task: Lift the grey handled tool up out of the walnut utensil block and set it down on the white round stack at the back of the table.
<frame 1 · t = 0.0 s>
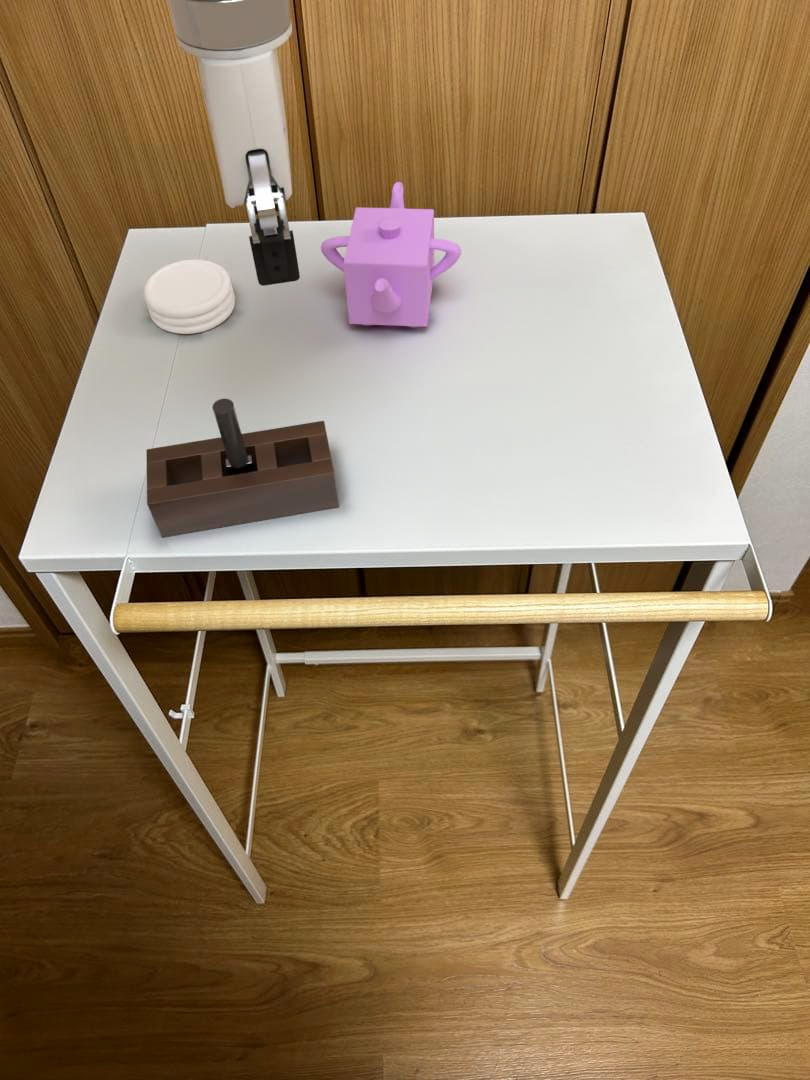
hand: (273, 244, 67), 22 cm above the table, tool pointing down, fingers open, 9 cm apart
grey handled tool: (236, 453, 76), in a hole of the utensil block
white round stack: (193, 309, 98), on the table
utensil block: (248, 495, 80), on the table
teapot: (393, 307, 97), on the table
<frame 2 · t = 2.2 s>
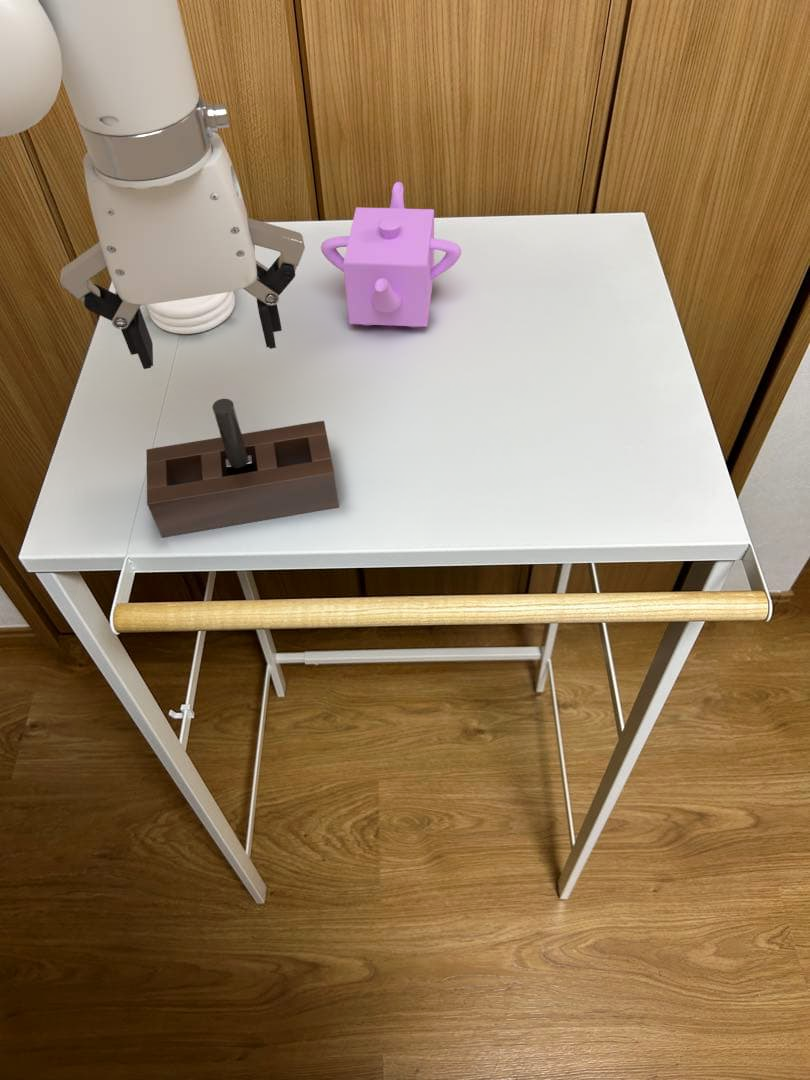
hand: (209, 347, 66), 18 cm above the table, tool pointing down, fingers open, 9 cm apart
nothing on the table moved.
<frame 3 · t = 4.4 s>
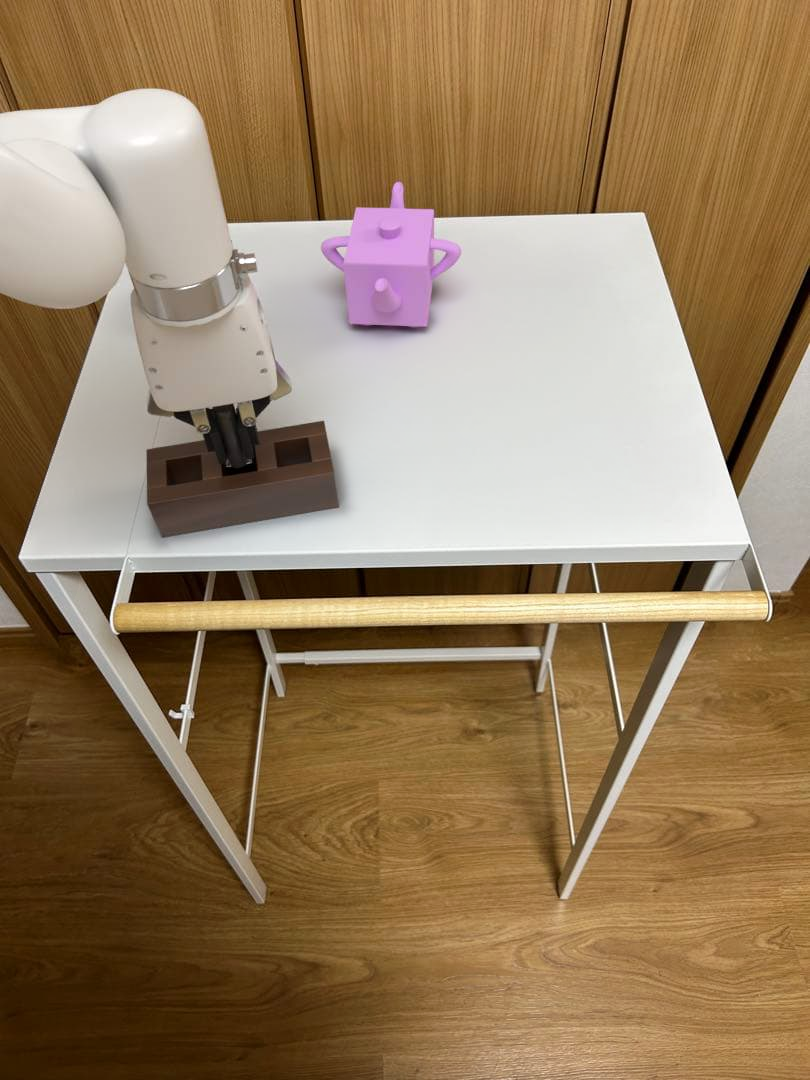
hand: (235, 449, 75), 7 cm above the table, tool pointing down, fingers closed on grey handled tool, 1 cm apart
grey handled tool: (236, 453, 76), in a hole of the utensil block, touching gripper
everything else where it was.
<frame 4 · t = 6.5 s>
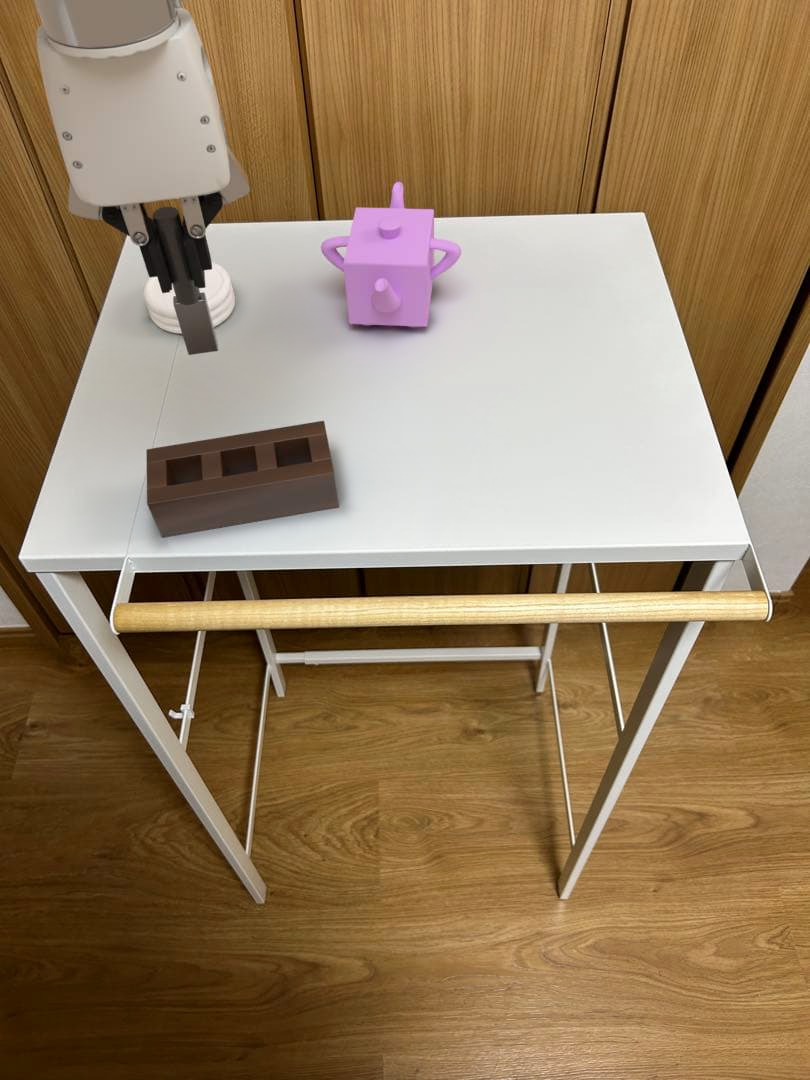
hand: (183, 277, 61), 24 cm above the table, tool pointing down, fingers closed on grey handled tool
grey handled tool: (185, 286, 62), point 24 cm above the table, touching gripper
everything else where it was.
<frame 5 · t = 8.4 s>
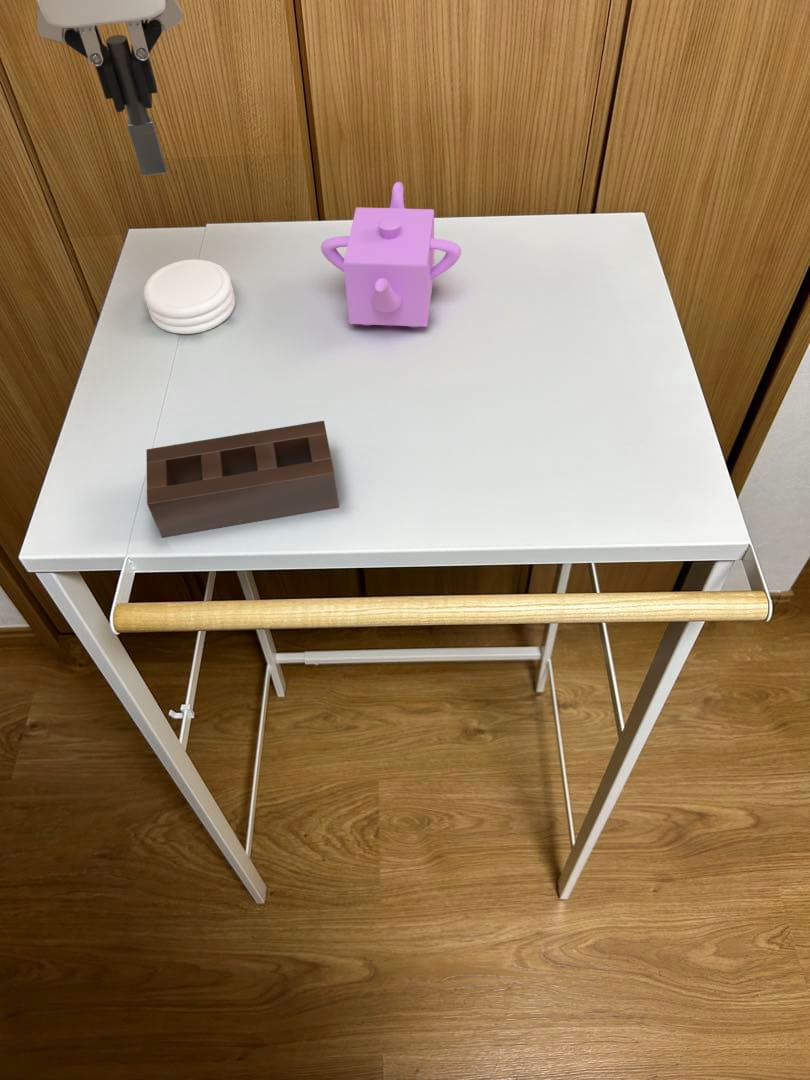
hand: (134, 101, 75), 25 cm above the table, tool pointing down, fingers closed on grey handled tool
grey handled tool: (136, 109, 76), point 25 cm above the table, touching gripper
everything else where it was.
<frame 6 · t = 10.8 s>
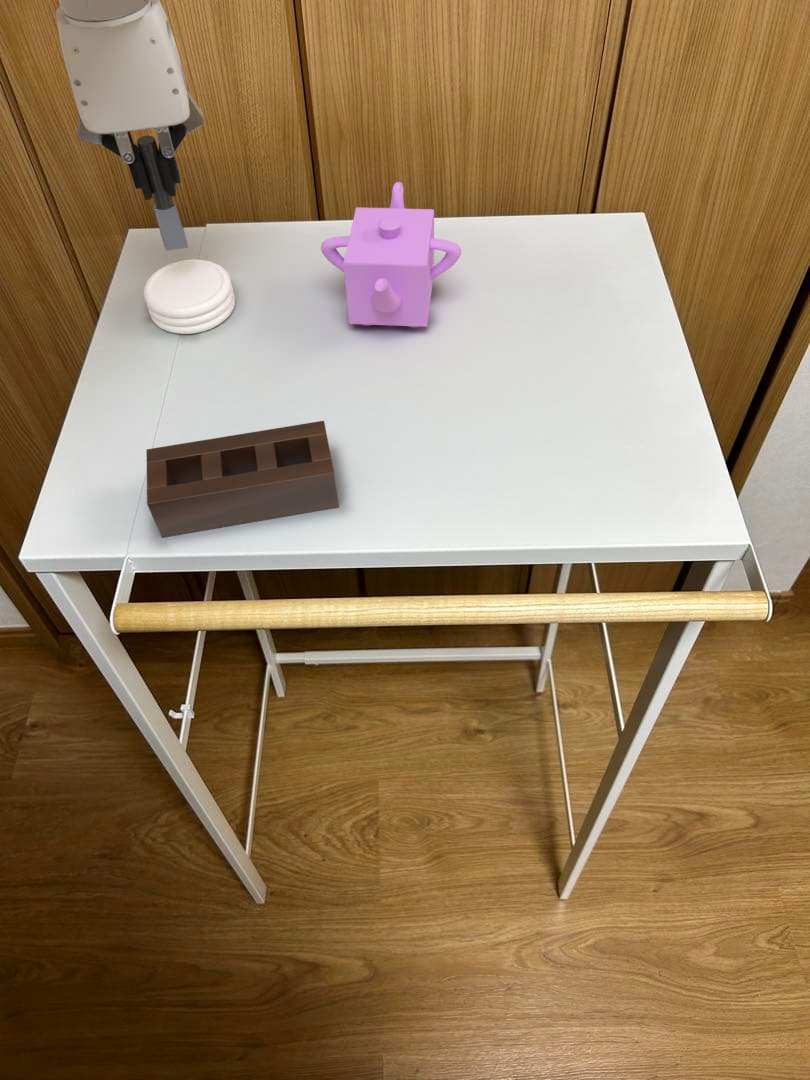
hand: (160, 189, 86), 15 cm above the table, tool pointing down, fingers closed on grey handled tool
grey handled tool: (162, 196, 86), point 14 cm above the table, touching gripper
everything else where it was.
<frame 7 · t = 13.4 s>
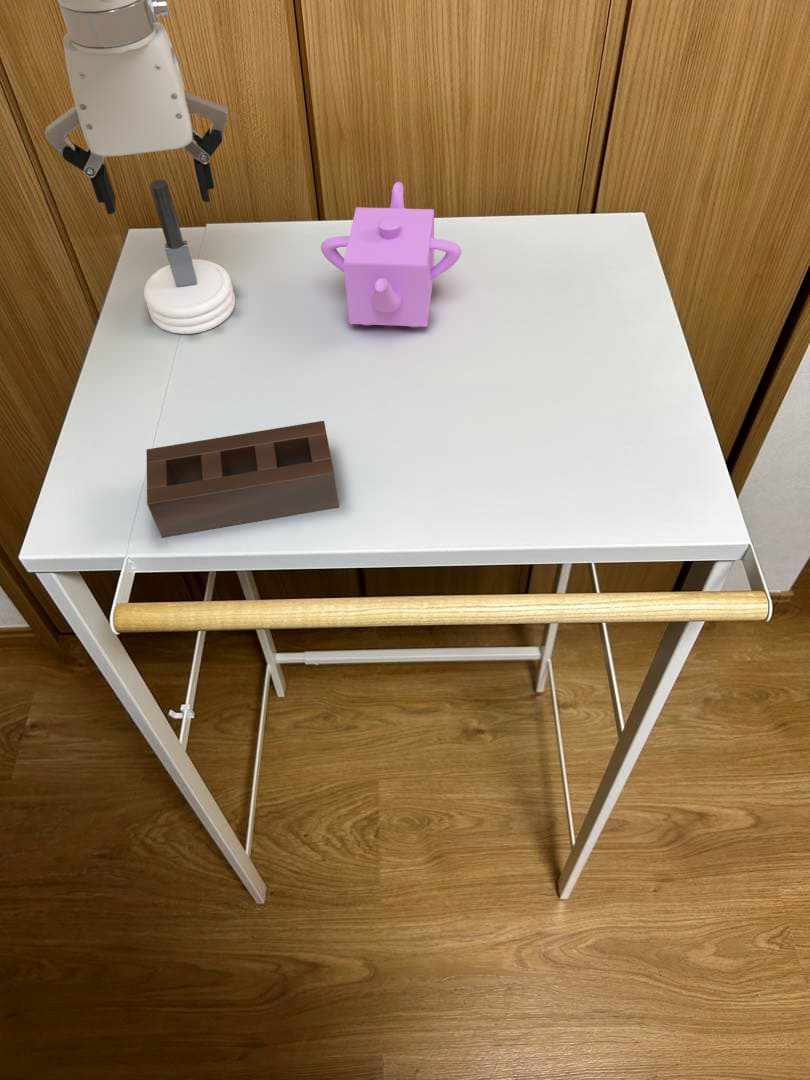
hand: (159, 201, 86), 14 cm above the table, tool pointing down, fingers open, 9 cm apart
grey handled tool: (173, 236, 90), point 10 cm above the table, touching white round stack
white round stack: (193, 309, 98), on the table, touching grey handled tool
everything else where it was.
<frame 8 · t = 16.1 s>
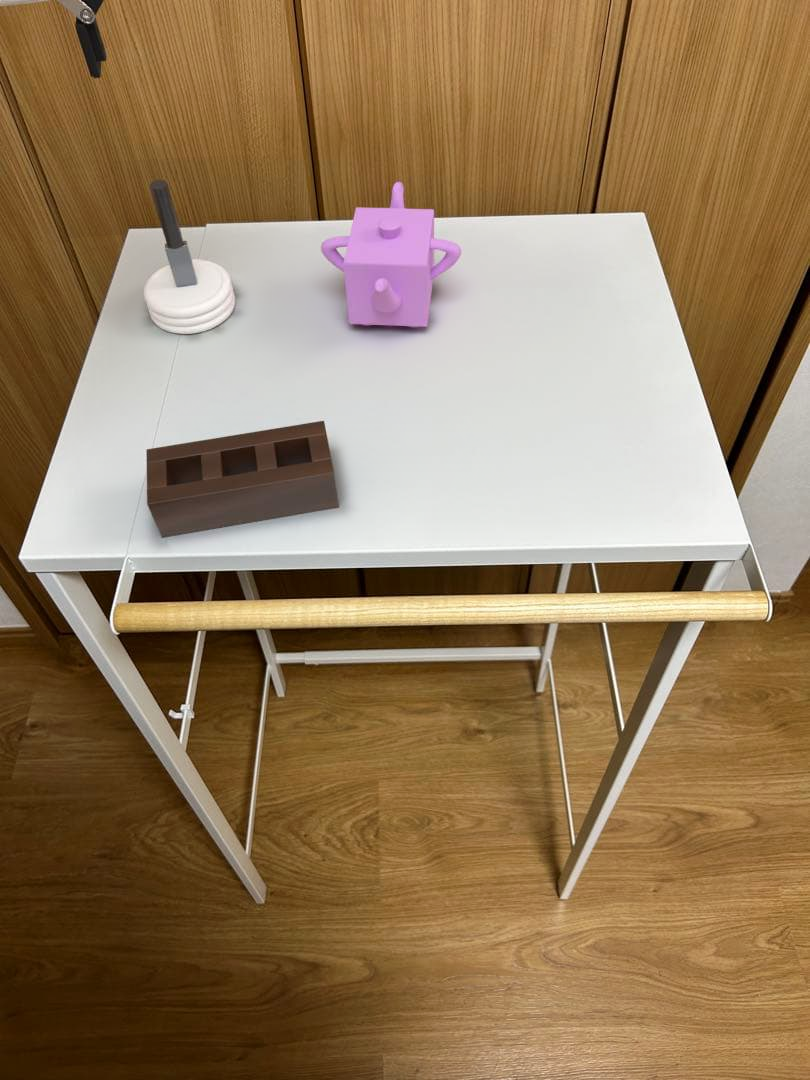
hand: (37, 78, 68), 30 cm above the table, tool pointing down, fingers open, 9 cm apart
nothing on the table moved.
at the end: grey handled tool inside the target area on the white round stack (0.1 cm from its centre), point 9.7 cm above the white round stack's base; grey handled tool moved 30.5 cm from its start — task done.
